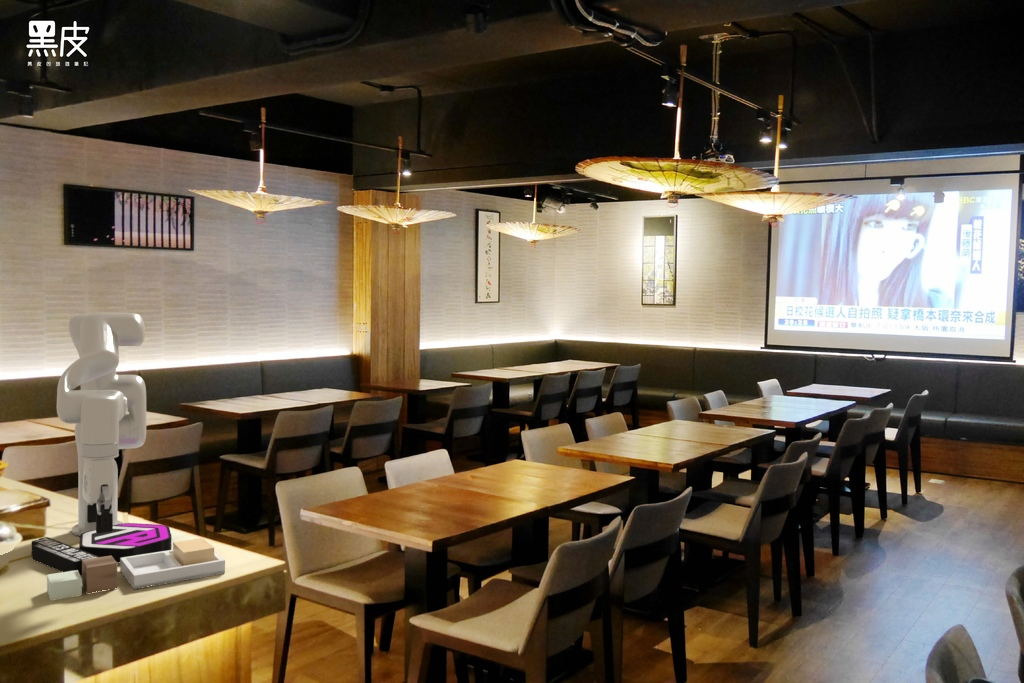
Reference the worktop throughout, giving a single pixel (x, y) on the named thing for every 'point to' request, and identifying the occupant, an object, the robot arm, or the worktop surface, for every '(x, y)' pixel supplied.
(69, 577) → the sage box
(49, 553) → the sign
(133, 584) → the box
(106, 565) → the walnut block
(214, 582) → the worktop surface
